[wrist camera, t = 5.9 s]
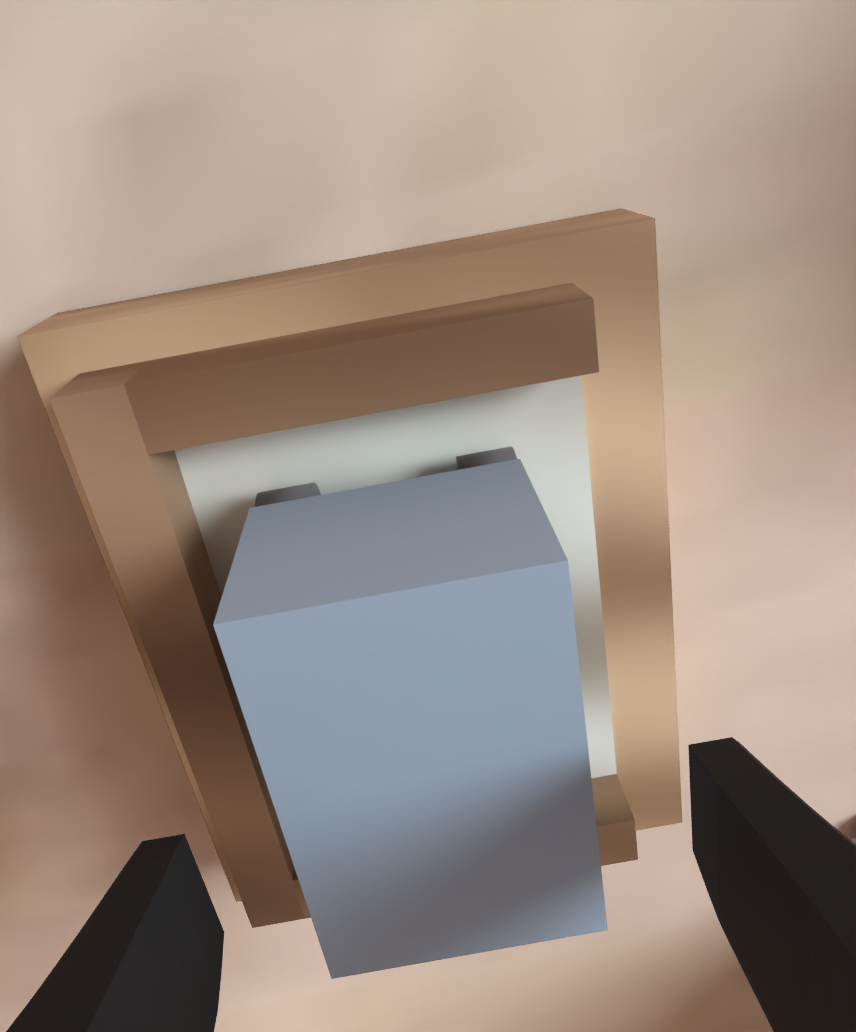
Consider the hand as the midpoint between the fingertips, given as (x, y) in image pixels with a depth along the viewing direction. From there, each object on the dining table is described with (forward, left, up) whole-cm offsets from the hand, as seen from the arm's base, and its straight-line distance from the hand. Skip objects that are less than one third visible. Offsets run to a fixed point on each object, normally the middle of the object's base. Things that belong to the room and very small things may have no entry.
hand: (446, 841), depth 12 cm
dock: (0, 0, -8) cm, 8 cm away
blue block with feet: (0, 0, -6) cm, 6 cm away
